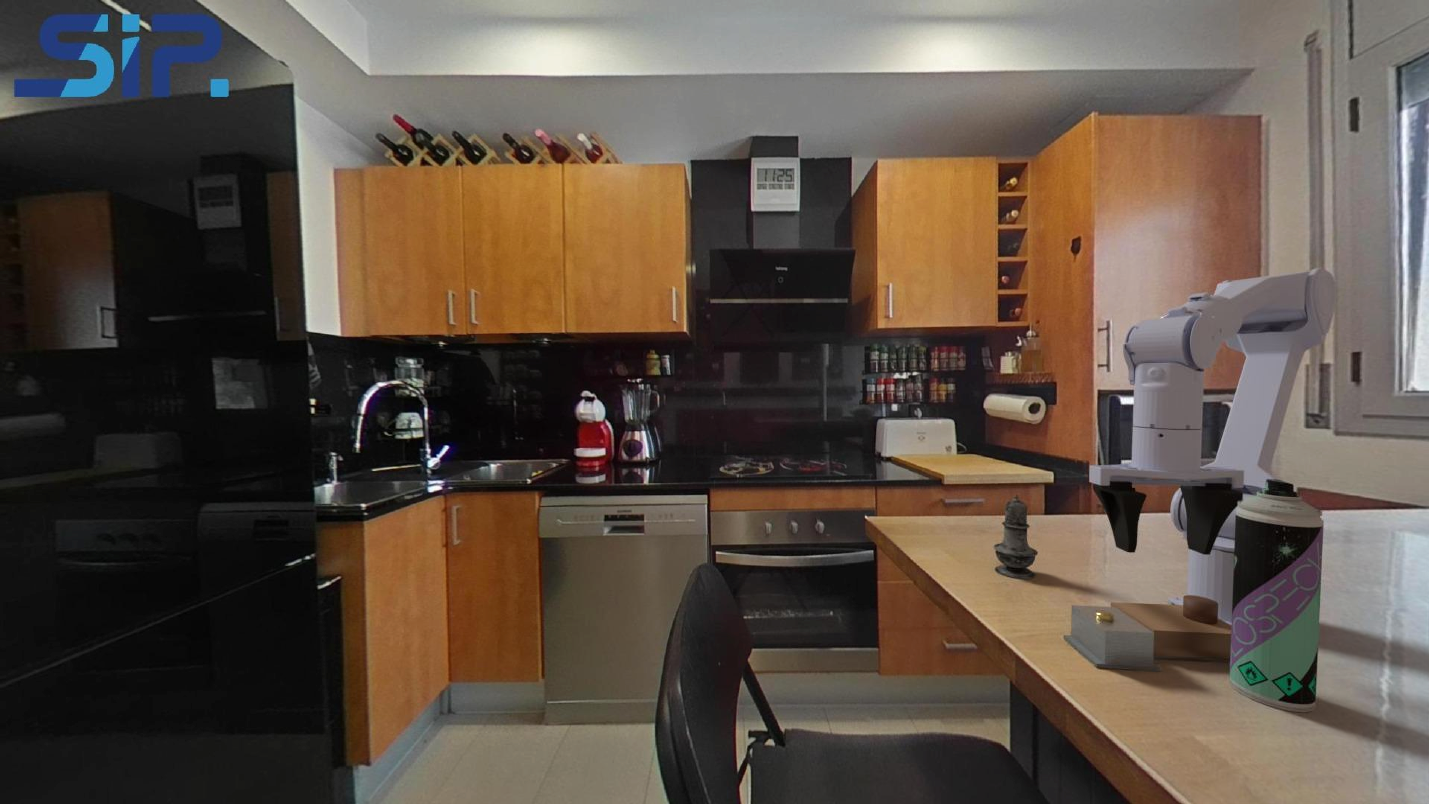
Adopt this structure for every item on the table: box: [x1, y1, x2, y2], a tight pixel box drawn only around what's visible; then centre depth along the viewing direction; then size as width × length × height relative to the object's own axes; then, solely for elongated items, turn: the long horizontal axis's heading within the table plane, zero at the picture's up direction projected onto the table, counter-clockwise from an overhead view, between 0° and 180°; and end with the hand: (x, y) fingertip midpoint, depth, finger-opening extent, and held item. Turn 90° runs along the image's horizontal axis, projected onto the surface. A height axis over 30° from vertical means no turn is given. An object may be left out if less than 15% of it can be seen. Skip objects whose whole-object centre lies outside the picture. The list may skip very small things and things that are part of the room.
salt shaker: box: [992, 494, 1039, 580], centre depth 79 cm, size 6×6×12 cm
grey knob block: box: [1070, 604, 1154, 667], centre depth 55 cm, size 4×6×4 cm
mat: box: [1063, 634, 1162, 672], centre depth 56 cm, size 6×6×1 cm
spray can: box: [1229, 479, 1324, 713], centre depth 48 cm, size 6×6×20 cm
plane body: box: [1110, 594, 1231, 663], centre depth 58 cm, size 9×7×5 cm
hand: (1161, 550), depth 57 cm, fingers open, 7 cm apart
